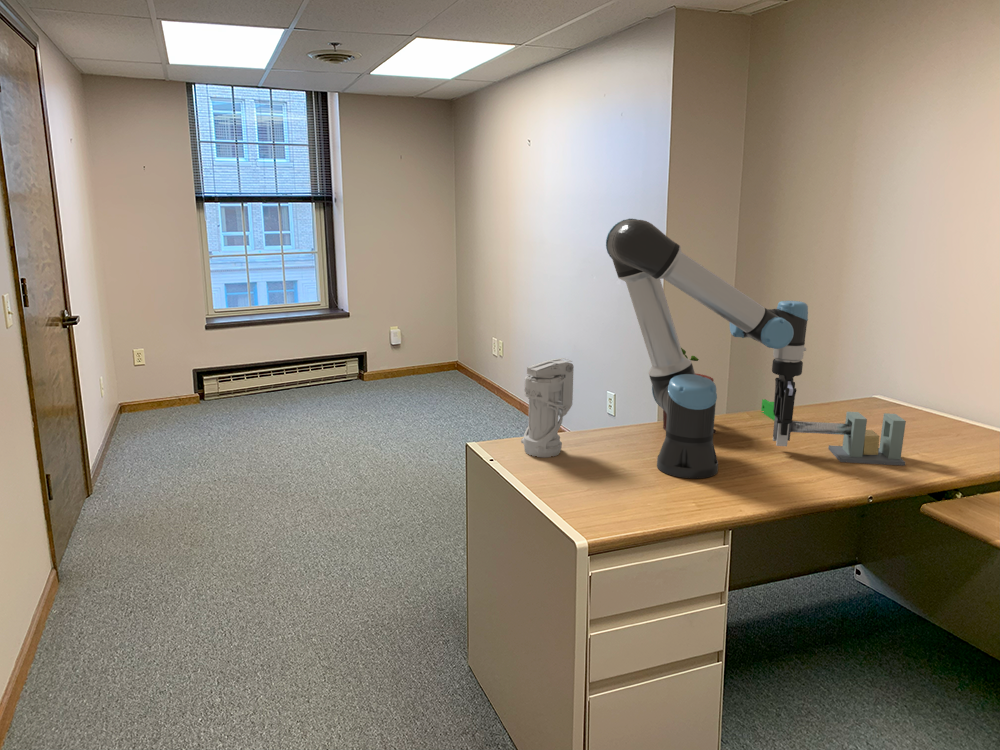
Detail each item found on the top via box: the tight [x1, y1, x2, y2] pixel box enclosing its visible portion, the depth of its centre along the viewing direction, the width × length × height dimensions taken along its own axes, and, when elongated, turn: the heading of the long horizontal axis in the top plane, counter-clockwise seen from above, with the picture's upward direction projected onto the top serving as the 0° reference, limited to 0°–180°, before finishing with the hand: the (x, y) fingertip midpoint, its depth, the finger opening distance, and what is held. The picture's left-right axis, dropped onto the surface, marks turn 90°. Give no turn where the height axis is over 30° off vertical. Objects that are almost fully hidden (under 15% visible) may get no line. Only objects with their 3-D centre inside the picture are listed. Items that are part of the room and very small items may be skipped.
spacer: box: [863, 429, 880, 455], centre depth 194 cm, size 4×6×5 cm, turn 171°
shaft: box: [772, 415, 852, 441], centre depth 196 cm, size 22×4×6 cm, turn 81°
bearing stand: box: [828, 411, 907, 466], centre depth 194 cm, size 16×11×12 cm
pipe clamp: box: [760, 399, 775, 421], centre depth 233 cm, size 11×4×5 cm, turn 4°
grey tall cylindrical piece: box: [520, 357, 574, 458], centre depth 195 cm, size 13×10×25 cm
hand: (779, 443), depth 198 cm, fingers closed on shaft, 4 cm apart
